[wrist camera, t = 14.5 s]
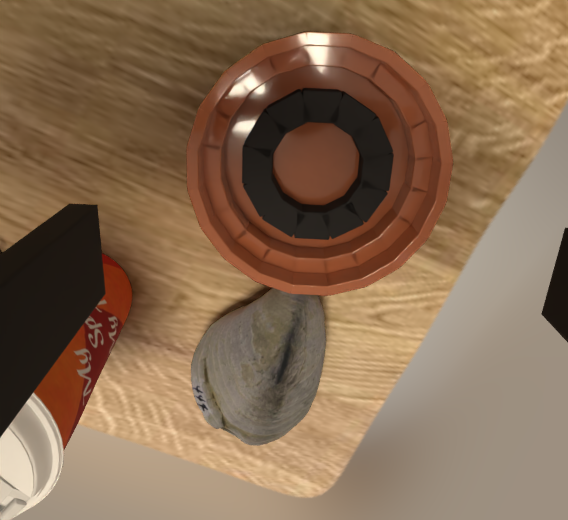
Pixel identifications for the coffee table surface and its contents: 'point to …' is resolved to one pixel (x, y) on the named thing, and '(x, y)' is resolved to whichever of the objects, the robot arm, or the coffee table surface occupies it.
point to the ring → (361, 193)
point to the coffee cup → (60, 402)
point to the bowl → (319, 163)
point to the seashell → (261, 366)
